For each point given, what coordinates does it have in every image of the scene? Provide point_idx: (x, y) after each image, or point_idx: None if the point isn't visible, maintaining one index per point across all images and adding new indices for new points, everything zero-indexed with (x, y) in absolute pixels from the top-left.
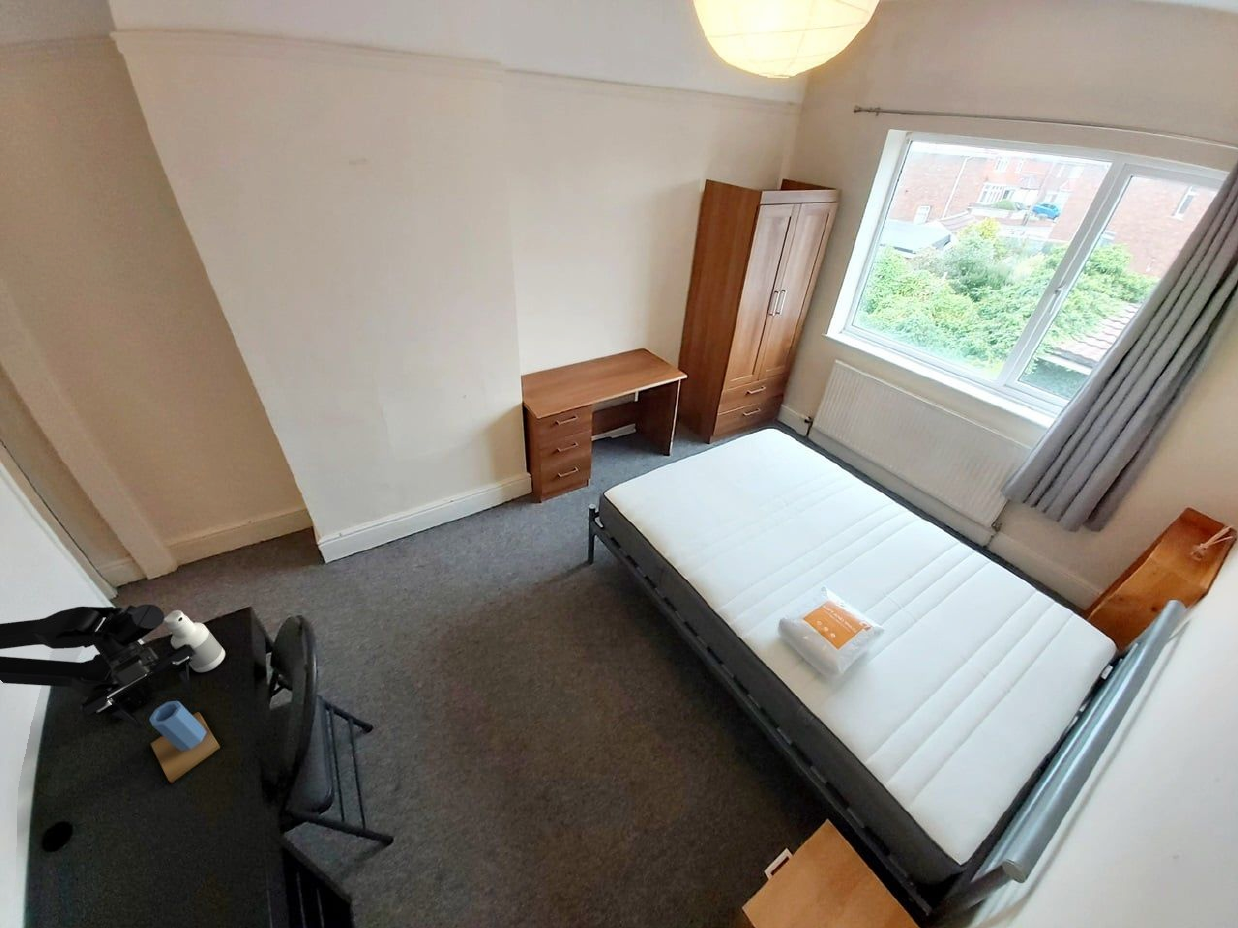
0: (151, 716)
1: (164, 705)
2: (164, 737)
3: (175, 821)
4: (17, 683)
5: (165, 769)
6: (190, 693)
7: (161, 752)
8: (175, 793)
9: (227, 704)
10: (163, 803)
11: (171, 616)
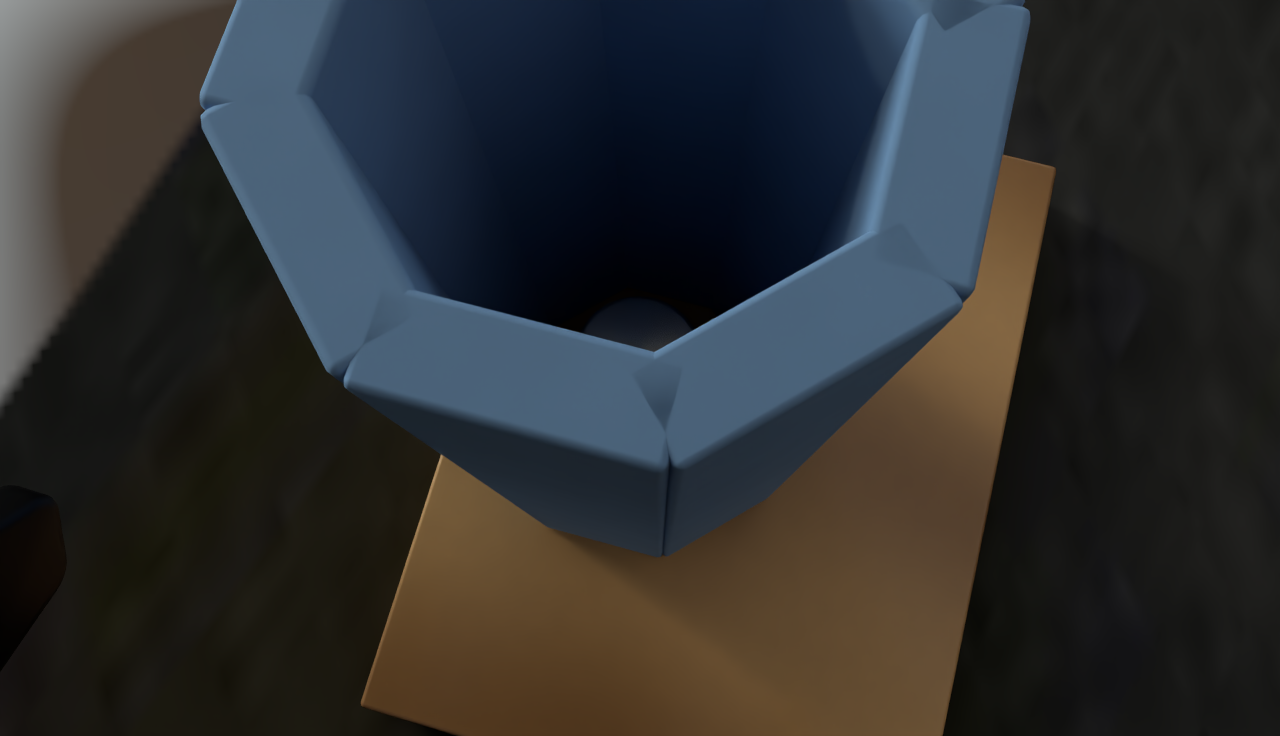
0: (883, 319)
1: (459, 325)
2: None
3: None
4: None
5: (1007, 324)
6: (20, 489)
7: (916, 585)
8: (1068, 62)
9: (172, 493)
10: (1178, 77)
11: None
